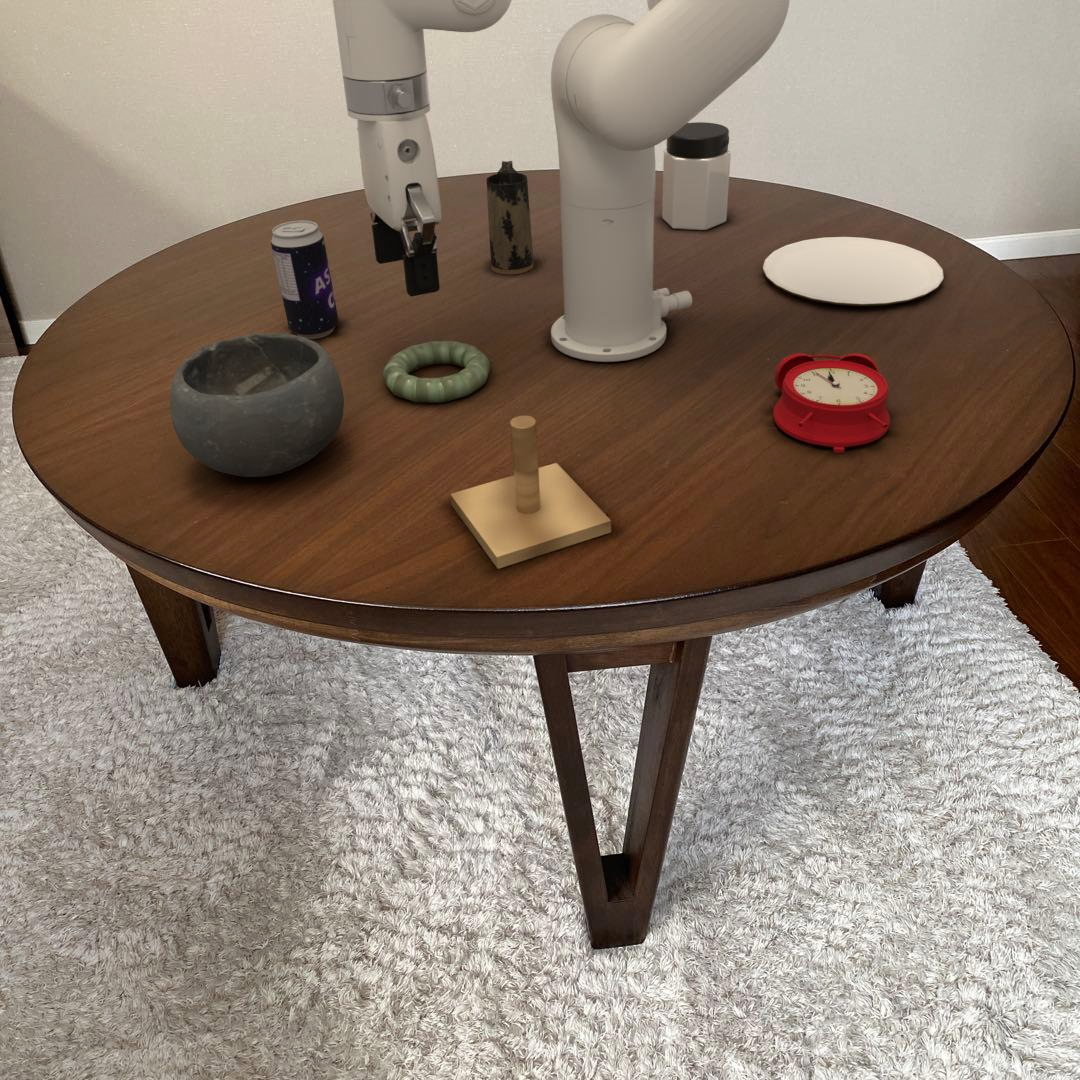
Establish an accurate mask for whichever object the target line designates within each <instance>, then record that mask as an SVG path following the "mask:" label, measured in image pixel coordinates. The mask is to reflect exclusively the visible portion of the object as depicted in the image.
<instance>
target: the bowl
mask: <svg viewBox="0 0 1080 1080" xmlns="http://www.w3.org/2000/svg"><path fill="white" fill-rule="evenodd" d="M169 395H170V397H169V409H170V418H171V422H172V426H173V428H174V431H175V434H176V436H177V438H178V440H179V442H180V443H181V445H182V446H183V448H184V449H185V450H186V451H187V453H188V454H190V456H192V457H193V458H194V459H195V460H196V461H198V462H199V463H200V464H202V465H204V466H205V467H207V468H210V469H212V470H213V471H216V472H220V473H223V474H228V475H231V476H236V477H243V478H261V477H268V476H269V477H270V476H274V475H279V474H283V473H286V472H288V471H291V470H293V469H295V468H297V467H299V466H301V465H303V464H306V463H307V462H308V461H310V460H311V459H313V458H314V457H315V456H317V455H318V454H320V452H322V451H323V450H325V448H326V447H327V446H329V444H330V443H331V442H332V440H333V439H334V437H335V436H336V434H337V432H338V431H339V429H340V427H341V424H342V422H343V418H344V409H345V397H344V389H343V384H342V380H341V378H340V374H339V372H338V370H337V367H336V365H335V363H334V362H333V359H332V358H331V356H330V355H329V354H328V352H327V351H326V350H325V349H324V348H323V347H322V346H321V345H320V344H319V343H318V342H316V341H314V340H313V339H307V338H305V337H301V336H298V335H297V334H290V333H286V332H285V333H284V332H265V333H248V334H247V335H238V336H234V337H229V338H225V339H221V340H217V341H215V342H214V343H211V344H207V345H205V346H203V347H201V348H199V349H198V350H196V351H195V352H194V353H192V354H191V355H190V356H189V357H187V358H186V359H185V360H184V361H183V362H182V363H181V364H180V366H179V367H178V369H177V370H176V371H175V374H174V376H173V378H172V382H171V386H170V394H169Z"/></svg>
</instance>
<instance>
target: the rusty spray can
mask: <svg viewBox="0 0 1080 1080" xmlns="http://www.w3.org/2000/svg"><path fill="white" fill-rule="evenodd" d="M513 165H514V164H513V160H508V161H504V160H502V161H501V167H500V168H499V170H498V171H497V172H496V173H495V174H492V175H489V176H488V177H486V197H487V198H486V201H487V217H488V236H489V238H488V239H489V253H490V268H491V269H490V270H492V271H493V272H494V273H497V274H501V275H519V274H524V273H526V272H528V271H531V270H532V269H533V268H534V266H535V261H534V250H533V249H534V248H533V238H532V237H533V236H532V235H533V234H532V225H531V223H532V222H531V210H530V197H529V184H528V183H529V182H528V176H527V175H526V174H523V173H519V172H518V171H517V170H516V169H515V168H514V166H513Z"/></svg>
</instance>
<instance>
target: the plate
mask: <svg viewBox="0 0 1080 1080" xmlns="http://www.w3.org/2000/svg"><path fill="white" fill-rule="evenodd" d="M762 271H763V273H764V276H765V278H766V279H767V281H769V282H771V283H772V284H773V285H774V286H775V287H776V288H778V289H780V290H782V291H783V292H786V293H788V294H790V295H792V296H796V297H800V298H803V299H806V300H810V301H813V302H818V303H825V304H831V305H835V306H852V307H876V306H877V307H878V306H889V305H895V304H896V305H897V304H902V303H907V302H911V301H914V300H917V299H921V298H924V297H925V296H927V295H929V294H930V293H932V292H934V291H936V290H937V289H939V287H940V285H941V284H942V282H943V281H944V279H945V278H944V269H943V268H942V266H941V265H940V264H939V263H938V262H937V260H936V259H935V258H933V257H931V256H930V255H928V254H926V253H924V252H923V251H921V250H918V249H916V248H913V247H910V246H907V245H905V244H901V243H897V242H892V241H888V240H884V239H883V240H882V239H877V238H868V237H856V236H832V237H831V236H830V237H829V236H828V237H818V238H811V239H804V240H800V241H797V242H792V243H790V244H786V245H784V246H782V247H780V248H778V249H775V250H774V251H772V252H771V254H768V256H767V257H766V258H765V259H764V262H763V265H762Z"/></svg>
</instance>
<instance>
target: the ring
mask: <svg viewBox="0 0 1080 1080" xmlns="http://www.w3.org/2000/svg"><path fill="white" fill-rule="evenodd" d="M433 365H454V366H458V367H461V368H463V369H461V370H460V371H459V372H457V373H454V374H450V375H446V376H441V377H418V376H415V375H411V373H413V372H414V371H416V370H417V369H420V368H421V369H422V368H425V367H429V366H433ZM490 370H491V362H490V360H489V358H488V357H487V356H486V355H485V354H484V353H483V352H482V351H481V349H479V348H478V347H476V346H475V345H471V344H467V343H465V342H464V343H463V342H460V341H456V340H429V341H426V342H422V343H419V344H414V345H410V346H407V347H406V348H404V349H402V350H400V351H399V352H397V353H395V354H393V355H392V356H391V357H390V358H389V359H388V361H387V362H386V365H385V367H384V370H383V372H382V380H383V383H384V384H385V385H386V387H387V388H388V389H389V390H390V391H391V393H392V394H393V395H394V396H397V397H398V398H401V399H404V400H408V401H411V402H414V403H420V404H421V403H422V404H423V403H425V404H426V403H447V402H450V401H453V400H458V399H461V398H465V397H467V396H470V395H471V394H472V393H474V392H476V391H477V390H478V389H480V388H482V387H483V386H484V385H485V384H486V382H487V380H488V378H489V373H490Z"/></svg>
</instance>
